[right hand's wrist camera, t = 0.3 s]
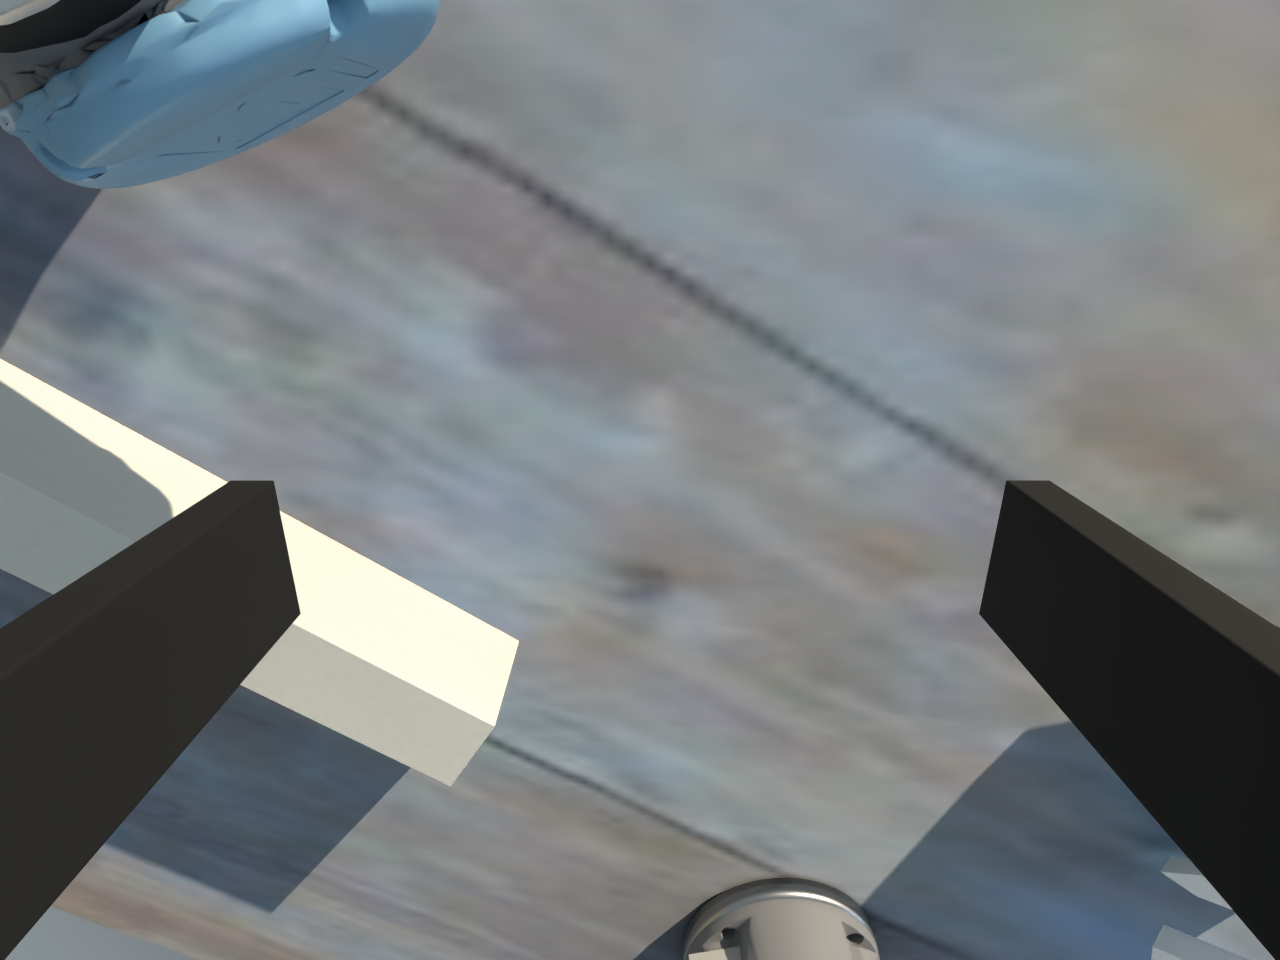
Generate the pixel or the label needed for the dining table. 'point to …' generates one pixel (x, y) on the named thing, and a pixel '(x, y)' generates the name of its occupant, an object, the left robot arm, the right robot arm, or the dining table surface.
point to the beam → (322, 570)
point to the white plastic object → (1174, 950)
